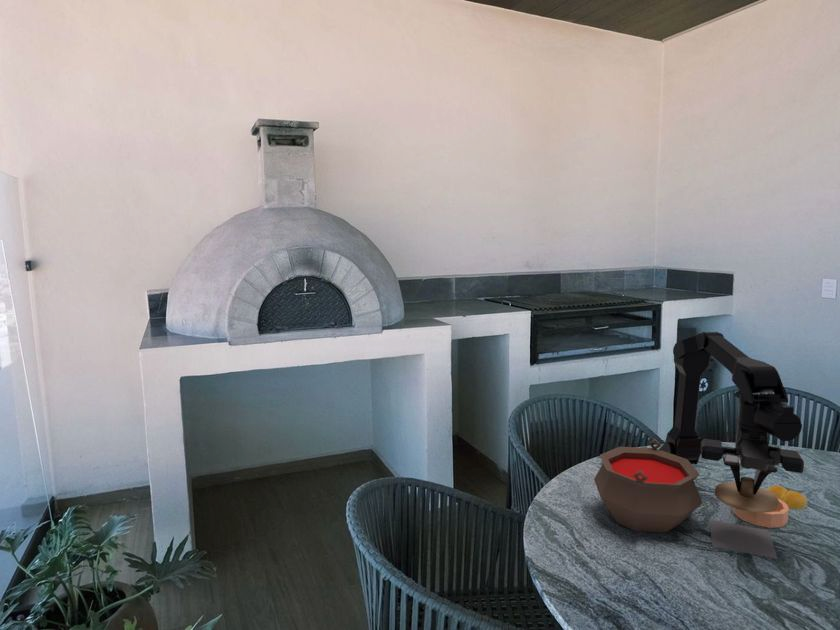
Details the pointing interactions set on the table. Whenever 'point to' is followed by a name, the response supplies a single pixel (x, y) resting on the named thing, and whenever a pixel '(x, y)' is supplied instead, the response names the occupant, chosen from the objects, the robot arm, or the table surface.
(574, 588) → the table surface
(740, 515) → the bowl
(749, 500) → the lid
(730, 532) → the mat
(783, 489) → the bread roll
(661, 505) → the brown soup pot
